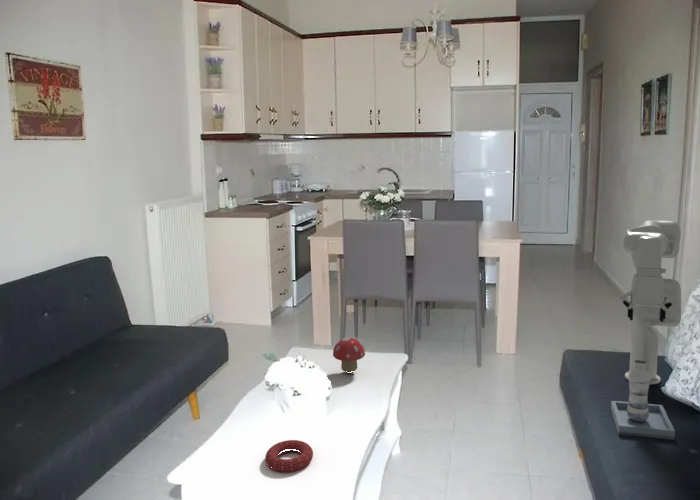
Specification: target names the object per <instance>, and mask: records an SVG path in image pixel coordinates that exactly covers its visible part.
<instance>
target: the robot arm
mask: <svg viewBox="0 0 700 500" xmlns="http://www.w3.org/2000/svg"><path fill="white" fill-rule="evenodd" d="M681 235H682V234H681V226H680V224H679V223H678V222H677V221H675V220H662V219H661V220H658V219H655V220H654V219H651V220H650V219H649V220H646V221H643V222H642V223H641V224H640V225H639V226H637V227H632V228H628V229H626V231H625V232H624V236H623V241H622V242H623V243H622V244H623V250H624V251H625V252H626V253H629V254H630V256H631V260H632V263H633V266H634V268H635V271H636V272H635V274H633V277H632V279H631V280H632V281H631V288H630V290H629V291H628V292H624V293H623V294H620V295H619V298H620V300H621V301H622V304H624V306H625V307H626V308H627V318H628V319H629V320H630V327H631V328H630V331H631V332H630V349H629V350H630V351H629V352H630V354H629V355H630V356H629V369H628V370H629V371H626V372H625V374H624V378H625V379H626V380H627V381H629V379H628V375H629V373H630V372H631V371H632V370H633V369H634V367H633V365H634V361H635V360H642V361H645V362H646V366H647V368H646V369H645V370H646V371H647V372H648V374H649V376H650V384H649V386H650V385H651V386H652V385H658V384H659V383H660V382H661V381H662V380H661V379H662V378H661V376H659V375H658V374H657V373H658V372H657V371H658V370H657V369H658V353H659V351H658V350H659V334H658V333H657V332H656V330H655V329H654V327H666V328H669V327H670V328H674V327H678V326H679V325H680V323H681V320H682V287H681V284H680V282H679V281H678V280H676V279H673V278H665V277H663V276H664V275H662V274H665V273H666V268H663V267H662V259H673V258H675V257H677V256H678V254H679V251H680V245H681ZM628 297H630V301H629V302H628V301H627V300H626V298H628Z"/></svg>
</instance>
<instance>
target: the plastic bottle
mask: <svg viewBox="0 0 700 500" xmlns="http://www.w3.org/2000/svg"><path fill="white" fill-rule="evenodd" d="M633 367H634V369H633V370H632V371H631V372H630V373H629V375H628V379H629V380H628V385H629V397H628V402H629V403H628V407H627V416H628V417H629V419H631V420H633V421H637V422H645V421H646V420H647V419H648V416H649V410H648V404H649V402H648V397H649V387H650V385H649V384H650V376H649V374H648V372H647V371H646V370H645V369H646V368H647V366H646V362H645V361H642V360H635V361H634V365H633Z"/></svg>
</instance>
